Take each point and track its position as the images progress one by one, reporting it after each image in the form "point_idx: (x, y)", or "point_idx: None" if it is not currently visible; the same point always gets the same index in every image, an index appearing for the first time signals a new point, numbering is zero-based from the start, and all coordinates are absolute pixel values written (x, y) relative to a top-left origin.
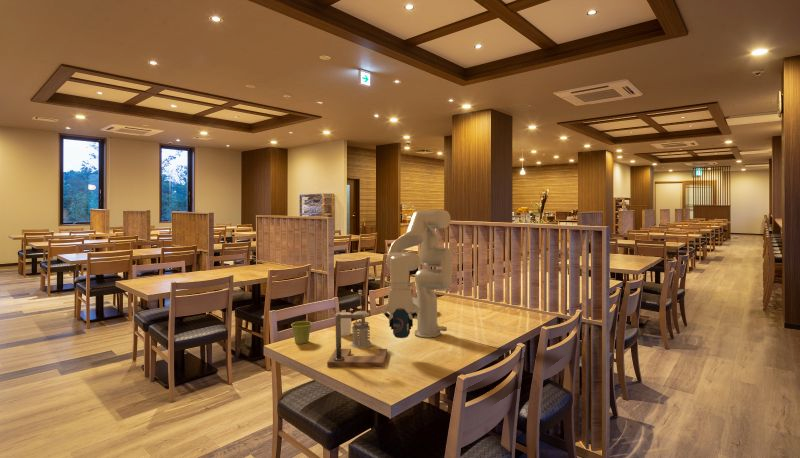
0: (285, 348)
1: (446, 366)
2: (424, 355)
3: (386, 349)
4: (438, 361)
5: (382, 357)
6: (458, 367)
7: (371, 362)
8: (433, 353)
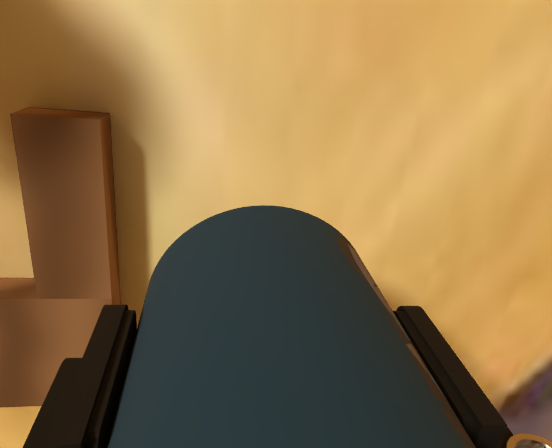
0: None
1: (484, 347)
2: (409, 171)
3: (94, 138)
4: (467, 280)
5: (93, 322)
6: (536, 356)
7: (30, 405)
8: (483, 130)
